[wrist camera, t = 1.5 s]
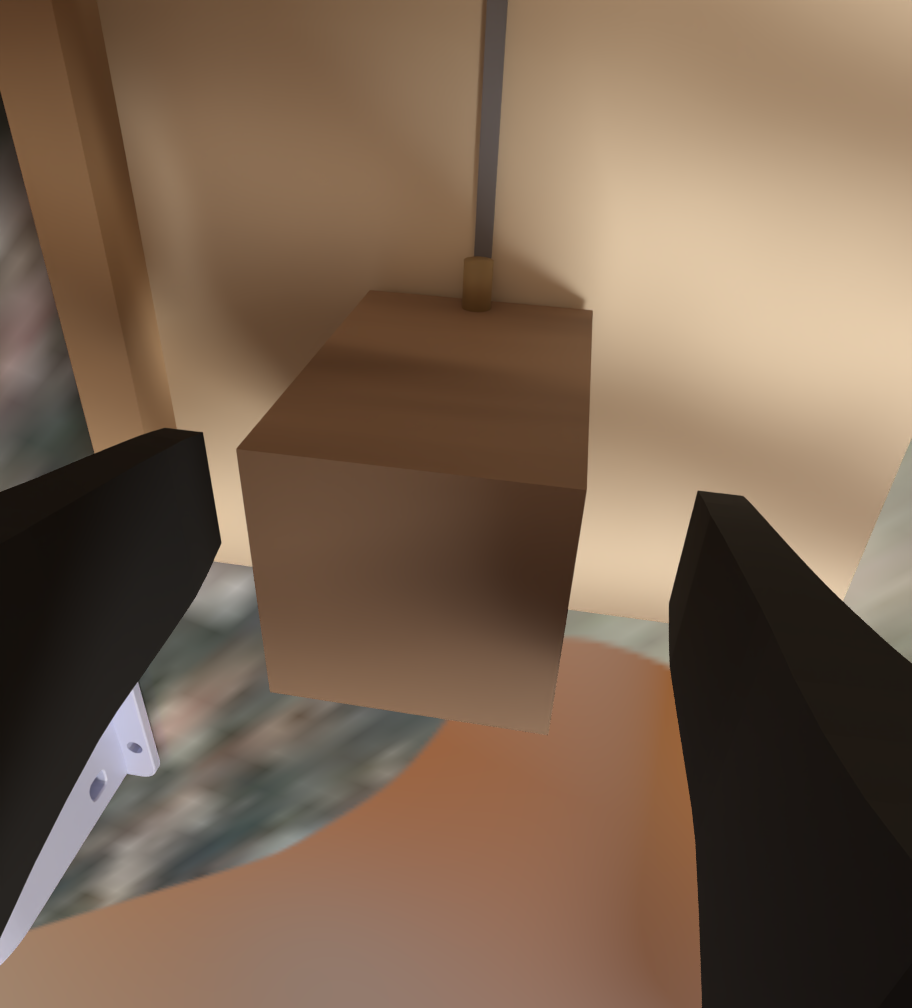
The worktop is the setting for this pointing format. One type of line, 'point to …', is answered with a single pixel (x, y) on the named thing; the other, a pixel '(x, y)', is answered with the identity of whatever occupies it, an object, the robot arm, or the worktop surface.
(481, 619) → the wooden block
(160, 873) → the worktop surface
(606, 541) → the board
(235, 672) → the worktop surface
